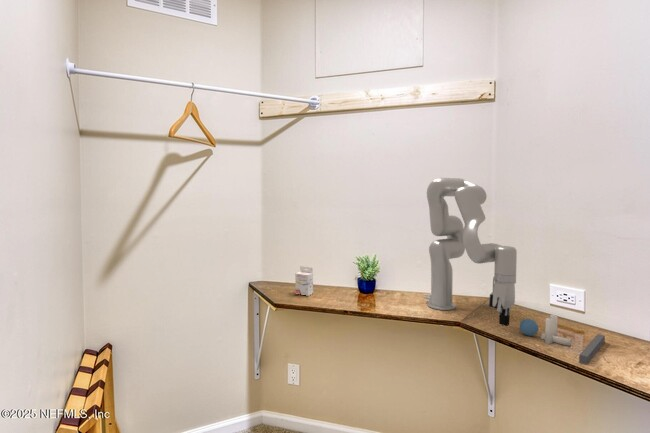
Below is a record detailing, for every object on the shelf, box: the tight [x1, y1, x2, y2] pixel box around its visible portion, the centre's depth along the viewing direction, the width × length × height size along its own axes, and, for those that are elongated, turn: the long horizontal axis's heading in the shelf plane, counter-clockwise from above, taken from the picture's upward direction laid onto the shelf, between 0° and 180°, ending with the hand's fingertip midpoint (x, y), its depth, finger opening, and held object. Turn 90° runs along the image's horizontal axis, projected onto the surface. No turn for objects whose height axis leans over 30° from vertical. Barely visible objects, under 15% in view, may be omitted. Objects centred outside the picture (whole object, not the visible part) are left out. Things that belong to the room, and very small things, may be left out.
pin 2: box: [549, 314, 559, 337], centre depth 126 cm, size 2×2×8 cm
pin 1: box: [544, 317, 554, 345], centre depth 122 cm, size 2×2×8 cm
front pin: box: [540, 332, 572, 347], centre depth 123 cm, size 2×2×8 cm
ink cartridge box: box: [294, 266, 314, 295], centre depth 186 cm, size 9×5×15 cm, turn 58°
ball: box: [519, 318, 539, 337], centre depth 129 cm, size 6×6×6 cm
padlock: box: [488, 276, 498, 309], centre depth 162 cm, size 7×4×15 cm, turn 53°
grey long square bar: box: [578, 333, 606, 365], centre depth 115 cm, size 2×24×2 cm, turn 131°
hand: (504, 324), depth 136 cm, fingers closed
